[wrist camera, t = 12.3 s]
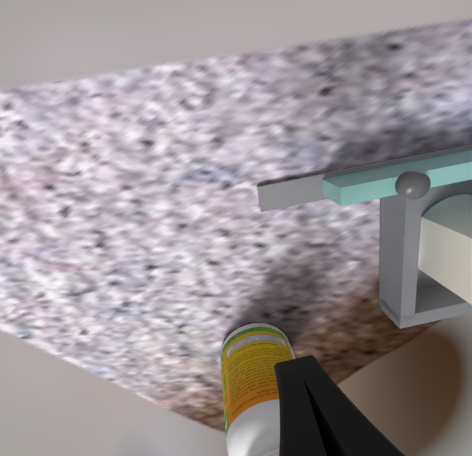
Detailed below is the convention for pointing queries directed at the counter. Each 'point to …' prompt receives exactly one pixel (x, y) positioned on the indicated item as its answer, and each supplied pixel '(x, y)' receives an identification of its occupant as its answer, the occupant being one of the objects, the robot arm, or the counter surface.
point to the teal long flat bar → (399, 179)
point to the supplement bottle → (253, 388)
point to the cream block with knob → (448, 250)
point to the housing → (394, 239)
